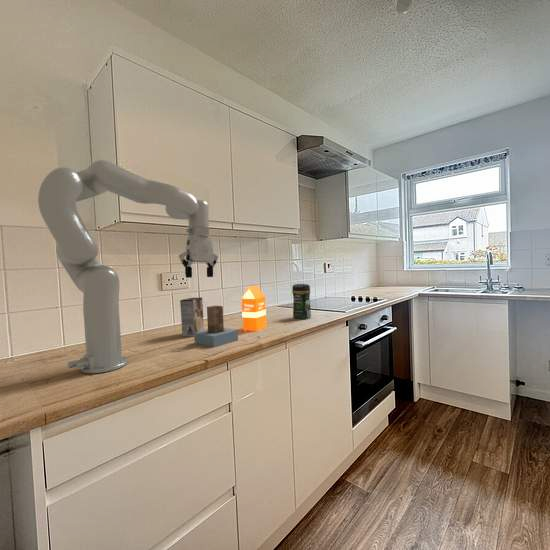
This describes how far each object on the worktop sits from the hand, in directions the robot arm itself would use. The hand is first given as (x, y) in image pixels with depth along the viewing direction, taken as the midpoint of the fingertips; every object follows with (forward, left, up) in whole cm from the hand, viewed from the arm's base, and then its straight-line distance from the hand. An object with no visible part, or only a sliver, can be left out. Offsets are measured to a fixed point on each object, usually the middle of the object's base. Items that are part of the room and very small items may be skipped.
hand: (199, 277), depth 116 cm
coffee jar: (+63, -3, -26) cm, 68 cm away
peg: (+5, -2, -26) cm, 26 cm away
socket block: (+5, -2, -26) cm, 26 cm away
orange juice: (+30, +1, -26) cm, 40 cm away
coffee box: (+8, +18, -26) cm, 33 cm away
